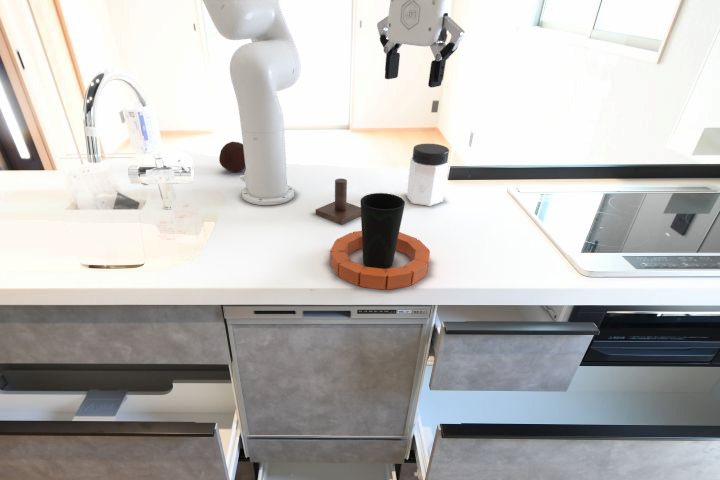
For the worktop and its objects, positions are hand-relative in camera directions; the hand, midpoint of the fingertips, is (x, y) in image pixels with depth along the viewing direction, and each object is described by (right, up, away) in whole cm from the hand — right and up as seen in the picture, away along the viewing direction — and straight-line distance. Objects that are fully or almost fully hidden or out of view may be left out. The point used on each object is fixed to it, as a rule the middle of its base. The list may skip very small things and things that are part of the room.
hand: (412, 82), depth 81 cm
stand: (-13, -19, +20) cm, 31 cm away
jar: (+8, -13, +28) cm, 32 cm away
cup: (-6, -33, +3) cm, 33 cm away
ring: (-6, -32, +3) cm, 33 cm away
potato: (-42, -1, +42) cm, 59 cm away
